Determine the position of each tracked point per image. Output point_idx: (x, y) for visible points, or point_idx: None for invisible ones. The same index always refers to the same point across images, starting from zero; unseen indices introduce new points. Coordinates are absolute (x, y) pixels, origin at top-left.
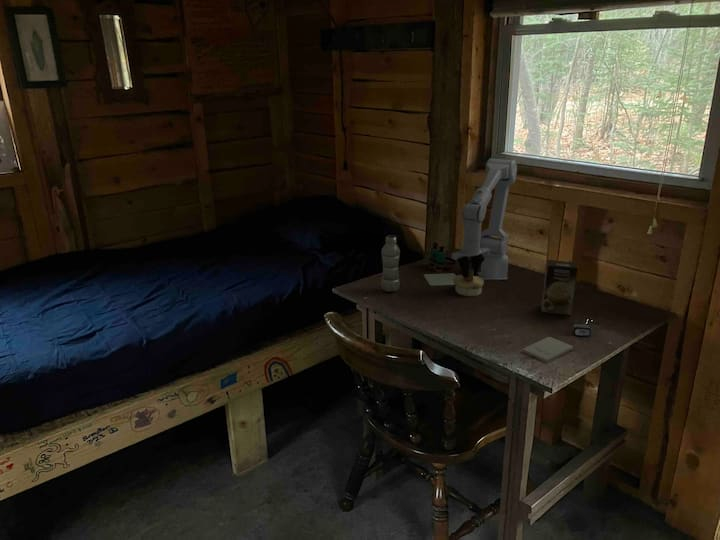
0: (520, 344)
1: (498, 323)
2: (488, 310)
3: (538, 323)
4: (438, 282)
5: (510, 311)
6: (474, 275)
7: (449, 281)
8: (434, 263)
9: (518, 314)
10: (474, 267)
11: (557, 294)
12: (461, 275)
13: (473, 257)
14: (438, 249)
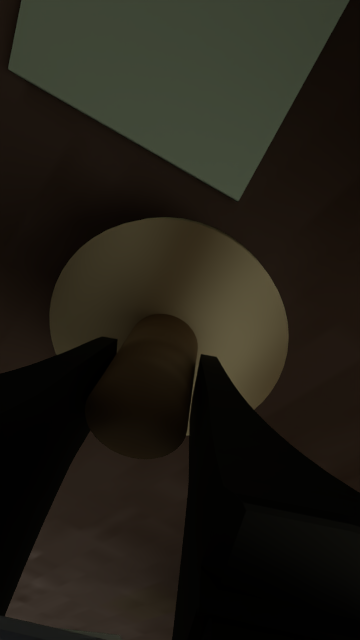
0: (41, 613)
1: (69, 545)
2: (110, 483)
3: (176, 599)
4: (102, 40)
5: (174, 527)
6: (193, 395)
7: (197, 78)
8: None
9: (178, 549)
10: (196, 441)
11: None
12: (179, 241)
13: (196, 560)
14: None
